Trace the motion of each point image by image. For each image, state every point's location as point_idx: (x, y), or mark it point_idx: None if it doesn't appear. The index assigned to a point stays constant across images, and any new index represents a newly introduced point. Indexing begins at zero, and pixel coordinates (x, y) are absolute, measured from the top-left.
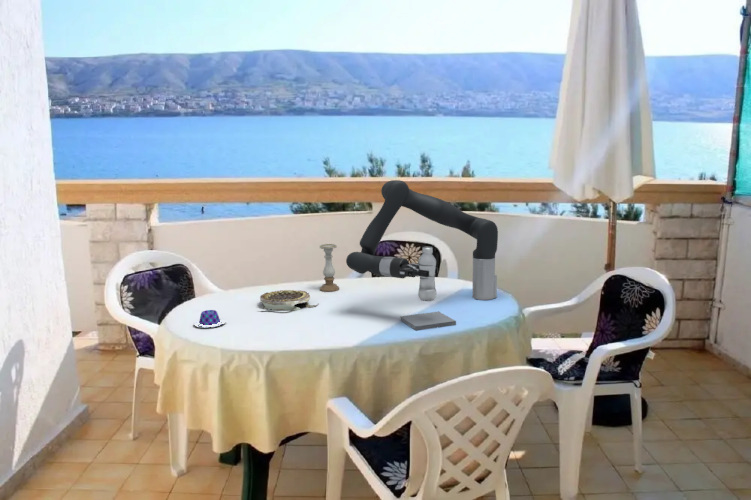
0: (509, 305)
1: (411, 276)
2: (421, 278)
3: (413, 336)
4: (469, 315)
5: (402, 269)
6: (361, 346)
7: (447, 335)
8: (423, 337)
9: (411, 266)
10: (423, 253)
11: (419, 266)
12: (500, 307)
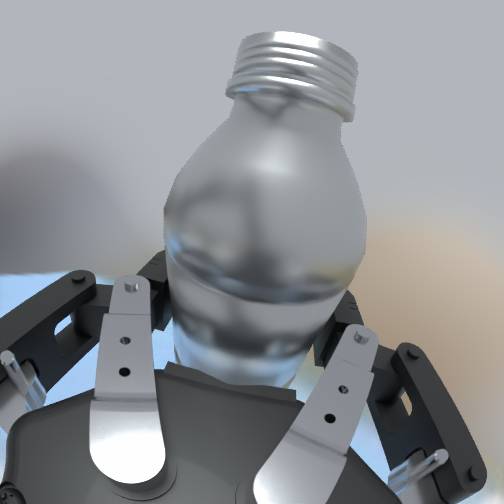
0: (29, 278)
1: (399, 405)
2: (293, 378)
3: (373, 449)
4: (96, 353)
5: (472, 456)
6: (487, 483)
7: (313, 382)
8: (363, 424)
9: (339, 415)
10: (338, 126)
11: (336, 304)
12: (37, 291)
